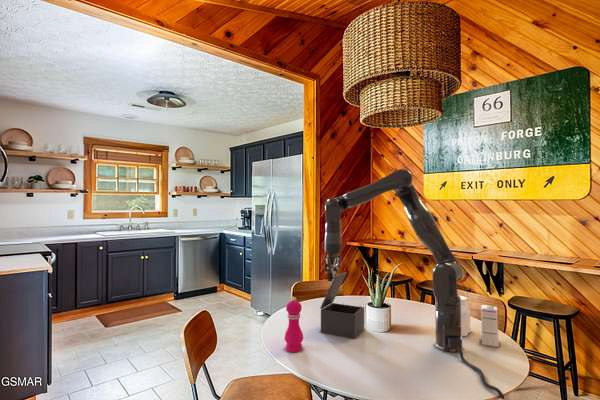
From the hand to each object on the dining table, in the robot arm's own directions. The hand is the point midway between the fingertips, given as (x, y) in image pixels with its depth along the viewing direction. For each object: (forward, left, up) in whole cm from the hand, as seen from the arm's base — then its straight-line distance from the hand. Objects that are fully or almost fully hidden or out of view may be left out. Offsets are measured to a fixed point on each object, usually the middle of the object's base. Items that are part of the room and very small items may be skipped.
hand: (332, 279), depth 156 cm
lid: (0, -1, -5) cm, 5 cm away
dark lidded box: (-2, -4, -22) cm, 23 cm away
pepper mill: (-23, +16, -22) cm, 36 cm away
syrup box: (-13, -62, -22) cm, 68 cm away
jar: (0, -54, -22) cm, 59 cm away
